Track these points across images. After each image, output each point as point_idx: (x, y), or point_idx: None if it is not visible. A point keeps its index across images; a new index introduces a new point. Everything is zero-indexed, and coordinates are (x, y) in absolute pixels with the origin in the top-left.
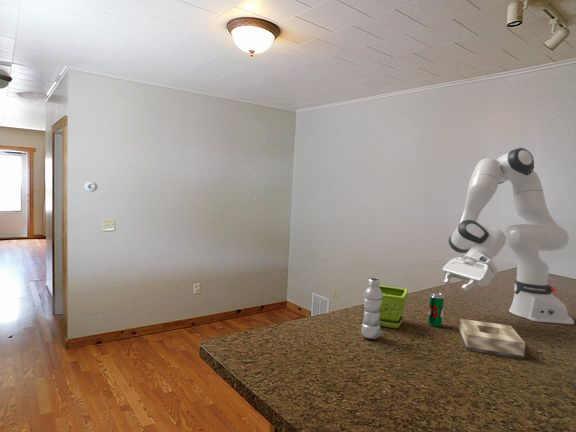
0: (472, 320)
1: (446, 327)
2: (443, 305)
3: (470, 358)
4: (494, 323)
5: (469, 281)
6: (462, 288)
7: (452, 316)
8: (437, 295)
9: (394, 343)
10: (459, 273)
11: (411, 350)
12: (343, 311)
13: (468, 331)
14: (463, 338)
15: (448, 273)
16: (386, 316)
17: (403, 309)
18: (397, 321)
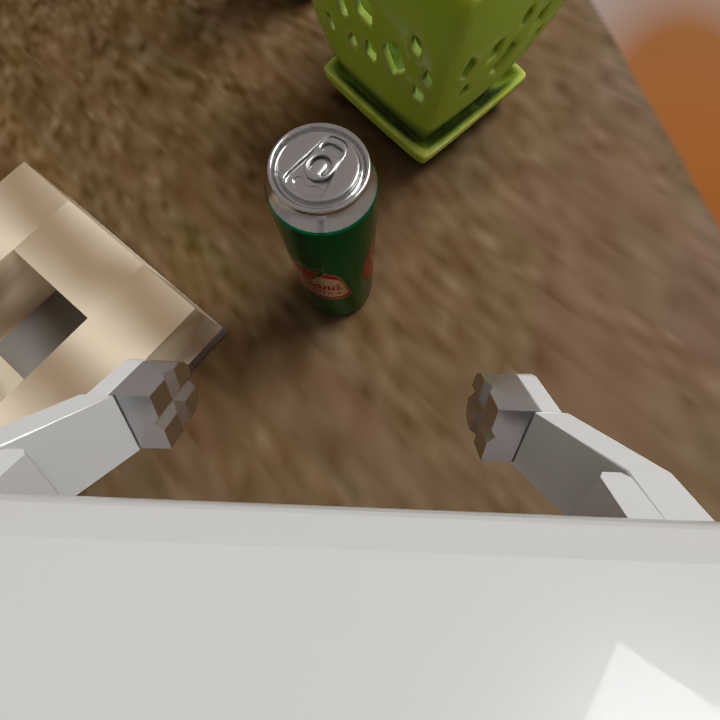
0: (144, 356)
1: (295, 319)
2: (287, 247)
3: (34, 168)
4: None
5: (23, 449)
6: (181, 368)
7: (422, 494)
8: (282, 138)
9: (235, 19)
10: (322, 535)
11: (169, 35)
12: (582, 17)
13: (47, 196)
14: (134, 252)
15: (663, 511)
16: (365, 4)
17: (375, 64)
18: (340, 62)
